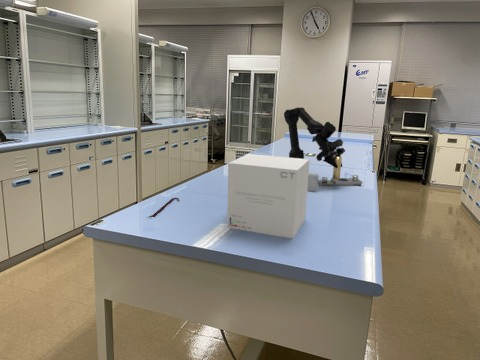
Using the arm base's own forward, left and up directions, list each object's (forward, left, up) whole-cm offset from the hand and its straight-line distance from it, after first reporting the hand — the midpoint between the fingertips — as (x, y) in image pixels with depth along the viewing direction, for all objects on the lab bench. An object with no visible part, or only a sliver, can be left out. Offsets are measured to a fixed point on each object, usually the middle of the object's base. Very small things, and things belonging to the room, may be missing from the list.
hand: (339, 167), depth 192 cm
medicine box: (-16, -2, -12) cm, 20 cm away
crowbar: (-87, -30, -12) cm, 92 cm away
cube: (-46, -49, -12) cm, 68 cm away
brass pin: (-1, +1, -7) cm, 7 cm away
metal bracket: (+5, +10, -12) cm, 16 cm away
